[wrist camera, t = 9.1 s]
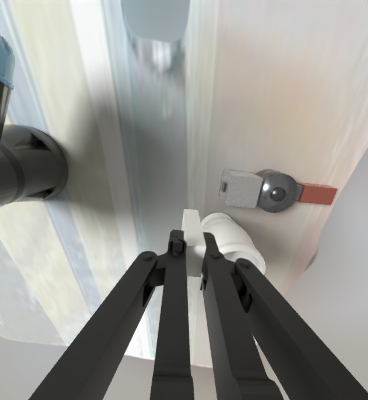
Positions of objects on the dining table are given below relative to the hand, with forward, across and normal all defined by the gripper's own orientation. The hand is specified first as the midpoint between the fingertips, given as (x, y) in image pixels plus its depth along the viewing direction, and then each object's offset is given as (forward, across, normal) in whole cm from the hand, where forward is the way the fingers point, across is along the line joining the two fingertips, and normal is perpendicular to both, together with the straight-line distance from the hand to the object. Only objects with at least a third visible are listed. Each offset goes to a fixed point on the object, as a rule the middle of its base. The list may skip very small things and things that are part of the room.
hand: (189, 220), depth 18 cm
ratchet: (+20, +21, 0) cm, 29 cm away
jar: (+20, +9, -11) cm, 25 cm away
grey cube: (+20, +11, 0) cm, 23 cm away
